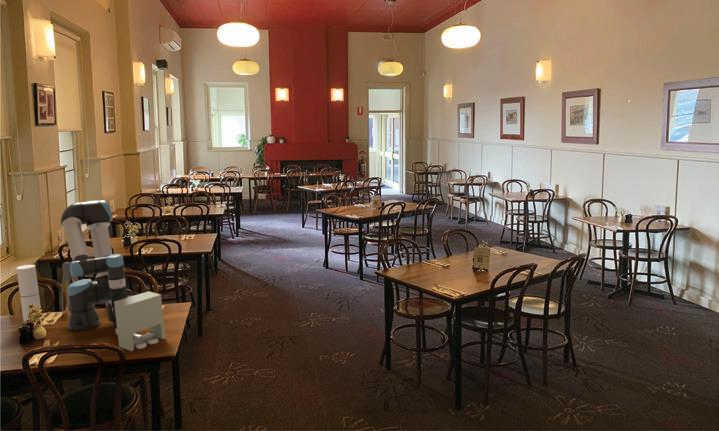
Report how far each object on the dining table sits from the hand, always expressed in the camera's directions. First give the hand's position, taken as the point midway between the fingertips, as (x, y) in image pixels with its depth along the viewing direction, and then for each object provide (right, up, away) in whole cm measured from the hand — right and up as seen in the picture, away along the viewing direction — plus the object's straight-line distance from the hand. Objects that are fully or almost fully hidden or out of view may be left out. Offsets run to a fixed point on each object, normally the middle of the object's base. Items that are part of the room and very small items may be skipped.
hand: (122, 332), depth 285 cm
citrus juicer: (-42, +3, +33) cm, 53 cm away
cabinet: (+13, -3, -9) cm, 16 cm away
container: (-58, +1, +25) cm, 63 cm away
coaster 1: (+14, -4, -14) cm, 20 cm away
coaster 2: (+18, -3, -9) cm, 20 cm away
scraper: (+6, -2, -4) cm, 8 cm away
